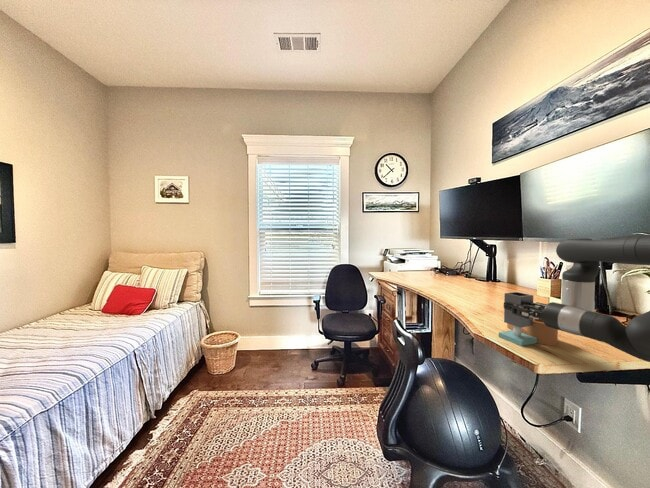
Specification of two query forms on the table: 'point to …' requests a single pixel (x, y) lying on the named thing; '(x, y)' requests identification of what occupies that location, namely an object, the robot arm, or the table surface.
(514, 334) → the shaft mount
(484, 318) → the table surface
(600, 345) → the table surface
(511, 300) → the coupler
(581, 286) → the robot arm
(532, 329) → the bracket
